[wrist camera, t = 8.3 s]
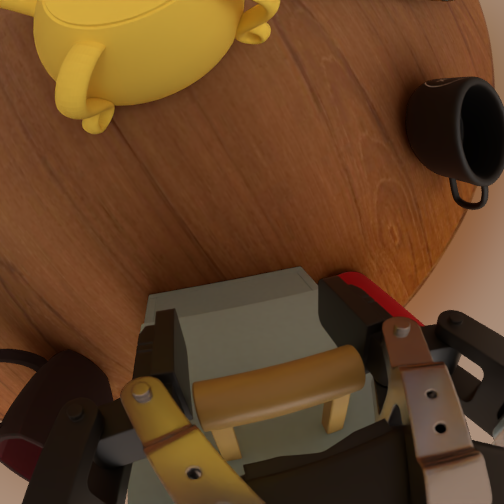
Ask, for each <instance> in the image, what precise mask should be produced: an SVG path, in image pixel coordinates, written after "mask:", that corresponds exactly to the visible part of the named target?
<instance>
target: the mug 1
mask: <svg viewBox="0 0 504 504" xmlns="http://www.w3.org/2000/svg"><path fill="white" fill-rule="evenodd" d="M0 362H7V363H15V364H20V365H23V366H27V367H29V368H32V369H33V370H35V371H36V373H35V375H34V376H33V377H32V378H31V379H30V381H29V382H28V383H27V384H26V386H25V387H24V388H23V389H22V391H21V392H20V393H19V395H18V396H17V398H16V399H15V400H14V402H13V403H12V405H11V406H10V408H9V410H8V411H7V413H6V415H5V417H4V419H3V420H2V422H1V423H0V462H1V463H3V464H4V465H5V466H6V467H7V468H9V469H10V470H11V471H13V472H14V473H16V474H17V475H19V476H20V477H22V478H23V479H25V480H27V481H28V482H30V479H31V477H32V474H33V471H34V469H35V466H36V464H37V461H38V459H39V456H40V454H41V452H42V449H43V447H44V445H45V442H46V440H47V438H48V435H49V433H50V431H51V429H52V427H53V424H54V422H55V420H56V418H57V416H58V414H59V412H60V410H61V408H62V407H63V406H64V405H65V404H66V403H67V402H68V401H70V400H72V399H75V398H80V397H85V398H89V399H91V400H92V401H93V402H94V403H95V404H96V406H100V405H103V404H106V403H109V402H112V401H113V397H112V393H111V388H110V384H109V381H108V378H107V377H106V375H105V374H104V373H103V372H102V371H101V370H100V369H99V368H98V367H97V366H96V365H95V364H94V363H93V362H91V361H90V360H88V359H87V358H85V357H84V356H82V355H80V354H78V353H76V352H74V351H72V350H69V349H68V350H65V351H62V352H60V353H58V354H56V355H55V356H54V357H52V358H51V359H50V360H49V361H47V360H46V359H45V358H43V357H41V356H39V355H37V354H34V353H31V352H27V351H22V350H16V349H0Z"/></svg>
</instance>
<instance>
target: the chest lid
mask: <svg viewBox="0 0 504 504" xmlns="http://www.w3.org/2000/svg"><path fill="white" fill-rule="evenodd" d="M178 319H179V322H180V326H181V329H182V333H183V336H184V340H185V344H186V348H187V355H188V367H189V380H190V391H191V401H192V411H193V419H192V420H189V421H190V423H191V424H192V425H193V424H195V425H196V426H197V427H198V428H199V429H200V430H201V432H202V433H203V434H204V435H205V437H206V438H207V439H208V440H209V442H210V443H211V444H212V445H213V446H214V448H215V449H216V450H217V451H218V452H219V454H220V455H221V456H222V457H223V458H224V459H225V461H226V462H227V463H228V464H229V465H230V466H231V467H232V468H233V470H234V471H235V472H236V473H237V474H238V475H239V476H241V475H244V474H245V472H244V468H243V465H245V464H249V463H254V462H259V461H263V460H267V459H271V458H275V457H279V456H288V455H301V454H311V453H319V452H323V451H325V450H327V449H329V448H330V447H332V446H333V445H335V444H336V443H338V442H339V441H341V440H342V439H344V438H345V437H347V436H348V435H350V434H351V433H353V432H354V431H357V430H359V429H361V428H364V427H366V426H368V425H371V424H373V423H375V415H374V406H373V396H372V388H371V381H372V375H371V373H368V374H365V368H364V364H363V361H362V359H361V356H360V354H359V353H358V351H357V350H356V349H355V348H354V347H353V346H352V345H344V346H341V347H337V346H336V344H335V343H334V341H333V340H332V339H331V337H330V336H329V335H328V333H327V332H326V331H325V329H324V328H323V327H322V325H321V323H320V320H319V316H318V289H317V290H313V291H308V292H304V293H300V294H295V295H291V296H286V297H282V298H277V299H273V300H268V301H264V302H259V303H254V304H249V305H244V306H239V307H234V308H229V309H224V310H219V311H214V312H209V313H203V314H198V315H192V316H187V317H181V318H178ZM149 325H155V322H151V323H145V324H141V331H142V330H143V329H144V327H145V326H149ZM141 331H140V333H141ZM128 504H175V503H174V502H173V500H172V499H171V497H170V496H169V494H168V493H167V491H166V489H165V488H164V486H163V485H162V483H161V481H160V480H159V478H158V476H157V475H156V473H155V471H154V470H153V468H152V466H151V464H150V463H149V461H148V459H147V458H144V459H141V460H139V461H136V462H133V465H132V469H131V474H130V479H129V484H128Z"/></svg>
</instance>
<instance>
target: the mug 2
mask: <svg viewBox="0 0 504 504" xmlns="http://www.w3.org/2000/svg"><path fill="white" fill-rule="evenodd" d="M406 130H407V135H408V139H409V142H410V145H411V147H412V149H413V151H414V153H415V155H416V156H417V157H418V159H419V160H420V161H421V162H422V163H423V164H424V165H425V166H426V167H427V168H428V169H430V170H431V171H432V172H434V173H436V174H439V175H442V176H445V177H449V181H450V187H451V191H452V195H453V198H454V200H455V202H456V203H457V204H458V205H459V206H461V207H463V208H466V209H471V210H476V209H480V208H482V207H483V206H485V204H486V202H487V200H488V186H489V185H491V184H493V183H494V182H495V181H496V180H497V179H498V178H499V177H500V175H501V173H502V171H503V169H504V106H503V104H502V102H501V99H500V98H499V96H498V94H497V92H496V91H495V89H494V88H493V87H492V86H491V85H490V84H489V83H488V82H487V81H485V80H483V79H481V78H478V77H457V78H444V79H434V80H430V81H427V82H425V83H424V84H422V85H421V86H419V87H418V88H417V89H416V91H415V92H414V93H413V95H412V96H411V98H410V100H409V103H408V106H407V111H406ZM456 180H460V181H463V182H467V183H470V184H473V185H477V186H481V189H482V196H481V201H480V202H478V203H469V202H466V201H464V200H463V199H461V197H460V196H459V193H458V188H457V183H456Z"/></svg>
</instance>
